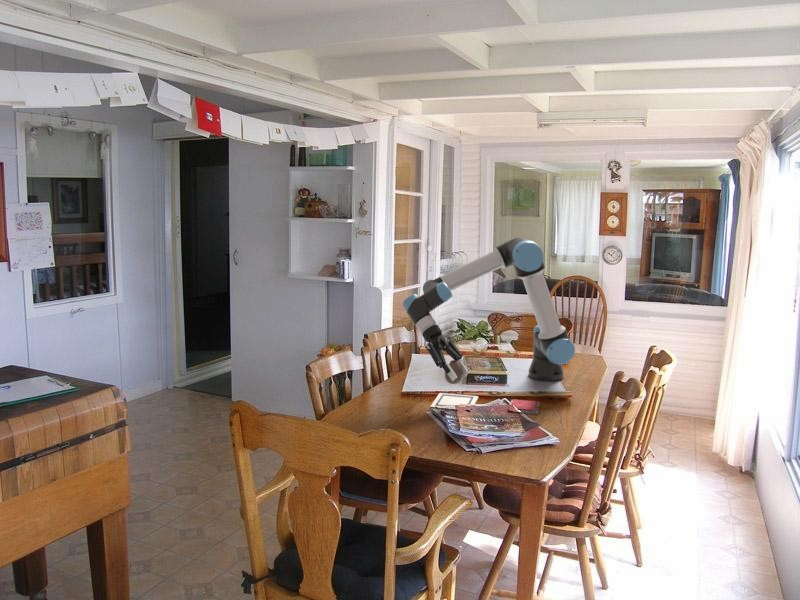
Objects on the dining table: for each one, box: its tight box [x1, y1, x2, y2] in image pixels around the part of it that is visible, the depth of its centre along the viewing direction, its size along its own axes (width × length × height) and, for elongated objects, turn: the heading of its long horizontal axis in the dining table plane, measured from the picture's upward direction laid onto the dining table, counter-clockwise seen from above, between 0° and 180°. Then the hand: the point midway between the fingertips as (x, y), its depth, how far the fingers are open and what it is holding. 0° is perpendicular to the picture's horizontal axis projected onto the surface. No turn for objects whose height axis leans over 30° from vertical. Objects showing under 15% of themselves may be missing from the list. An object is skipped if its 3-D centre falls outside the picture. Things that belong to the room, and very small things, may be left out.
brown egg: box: [444, 359, 463, 385], centre depth 268 cm, size 7×7×9 cm
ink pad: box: [510, 398, 541, 415], centre depth 264 cm, size 11×11×1 cm
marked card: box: [429, 392, 479, 408], centre depth 270 cm, size 16×16×1 cm
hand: (460, 376), depth 266 cm, fingers closed on brown egg, 7 cm apart
